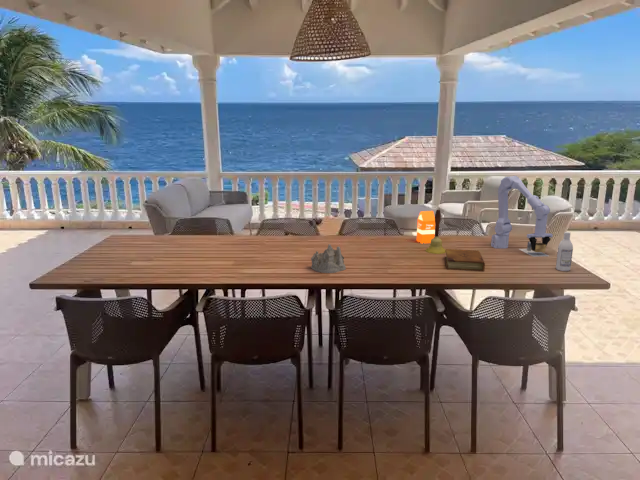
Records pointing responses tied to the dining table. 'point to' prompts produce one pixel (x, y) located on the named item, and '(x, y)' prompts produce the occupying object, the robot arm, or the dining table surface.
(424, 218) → the orange juice
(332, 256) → the grey sandcastle
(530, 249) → the post
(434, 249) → the handbell
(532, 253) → the board
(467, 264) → the diary
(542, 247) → the collar
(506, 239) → the robot arm
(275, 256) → the dining table surface
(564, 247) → the bath foam
